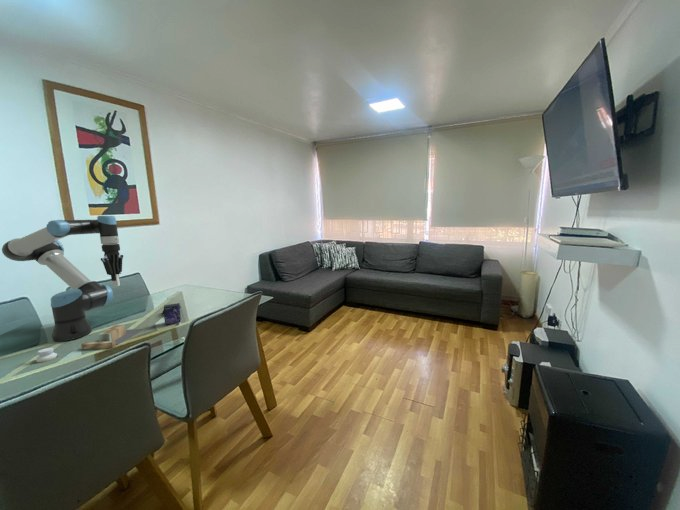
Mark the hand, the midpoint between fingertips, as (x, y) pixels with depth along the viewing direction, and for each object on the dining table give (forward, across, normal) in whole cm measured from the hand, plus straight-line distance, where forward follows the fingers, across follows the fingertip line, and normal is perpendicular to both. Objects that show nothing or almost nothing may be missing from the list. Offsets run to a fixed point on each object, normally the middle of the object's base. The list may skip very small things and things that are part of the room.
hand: (116, 285), depth 149 cm
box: (+25, +5, -26) cm, 36 cm away
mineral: (+24, +15, -22) cm, 36 cm away
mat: (+24, -14, -7) cm, 29 cm away
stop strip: (+24, -25, -7) cm, 35 cm away
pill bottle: (+32, -34, +8) cm, 47 cm away
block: (+22, -10, -7) cm, 25 cm away
